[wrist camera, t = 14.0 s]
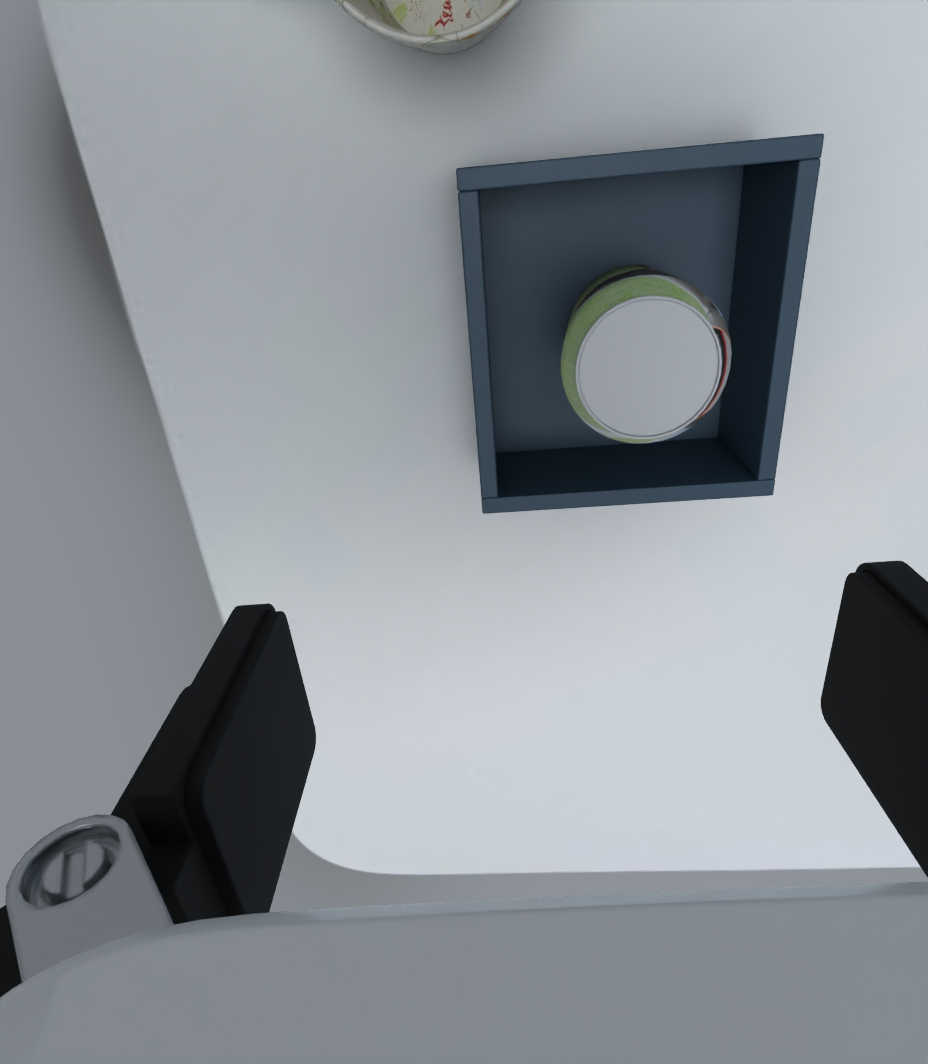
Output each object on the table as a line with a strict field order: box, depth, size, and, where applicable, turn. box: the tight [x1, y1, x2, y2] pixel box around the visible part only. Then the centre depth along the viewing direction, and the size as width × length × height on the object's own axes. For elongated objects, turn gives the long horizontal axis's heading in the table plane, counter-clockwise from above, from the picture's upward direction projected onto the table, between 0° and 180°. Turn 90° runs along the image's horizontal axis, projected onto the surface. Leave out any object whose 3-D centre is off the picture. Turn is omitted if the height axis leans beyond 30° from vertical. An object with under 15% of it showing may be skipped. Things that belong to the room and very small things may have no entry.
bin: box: [456, 134, 824, 513], centre depth 31 cm, size 15×14×7 cm
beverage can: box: [561, 264, 732, 443], centre depth 28 cm, size 6×7×12 cm
